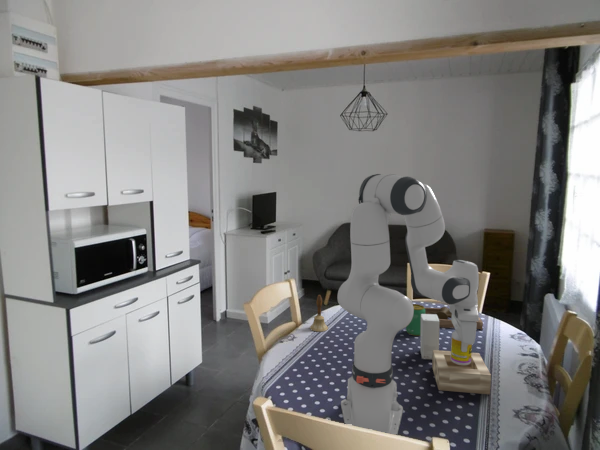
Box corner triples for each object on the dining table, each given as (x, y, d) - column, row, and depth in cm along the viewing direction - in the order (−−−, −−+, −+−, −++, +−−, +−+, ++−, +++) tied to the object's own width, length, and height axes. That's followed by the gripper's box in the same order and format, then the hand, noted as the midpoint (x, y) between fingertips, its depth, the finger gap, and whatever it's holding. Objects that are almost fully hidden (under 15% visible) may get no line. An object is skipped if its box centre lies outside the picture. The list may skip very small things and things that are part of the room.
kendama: (471, 330, 189) (426, 321, 199) (474, 324, 197) (431, 315, 207) (472, 317, 188) (427, 309, 198) (475, 311, 196) (432, 303, 206)
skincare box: (438, 360, 159) (440, 321, 156) (420, 359, 160) (422, 320, 158) (436, 351, 167) (437, 313, 164) (419, 349, 168) (420, 312, 166)
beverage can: (428, 333, 184) (429, 307, 182) (416, 337, 180) (417, 311, 178) (414, 327, 191) (415, 302, 189) (402, 331, 186) (403, 305, 185)
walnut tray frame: (482, 329, 188) (482, 322, 187) (422, 326, 192) (422, 319, 192) (473, 316, 204) (474, 310, 203) (418, 313, 208) (418, 307, 208)
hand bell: (331, 327, 192) (331, 293, 190) (322, 333, 185) (322, 298, 183) (315, 323, 196) (315, 291, 194) (306, 329, 189) (306, 295, 187)
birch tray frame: (489, 395, 135) (491, 375, 134) (438, 390, 138) (439, 371, 137) (477, 371, 151) (479, 353, 150) (432, 367, 154) (432, 350, 153)
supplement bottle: (471, 367, 139) (473, 331, 137) (450, 364, 141) (451, 328, 140) (470, 358, 145) (472, 323, 143) (450, 355, 148) (452, 321, 146)
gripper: (448, 297, 151) (446, 333, 153) (459, 317, 131) (457, 358, 133) (466, 297, 150) (464, 334, 152) (480, 318, 130) (478, 360, 132)
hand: (461, 345), depth 143 cm, fingers closed on supplement bottle, 7 cm apart
